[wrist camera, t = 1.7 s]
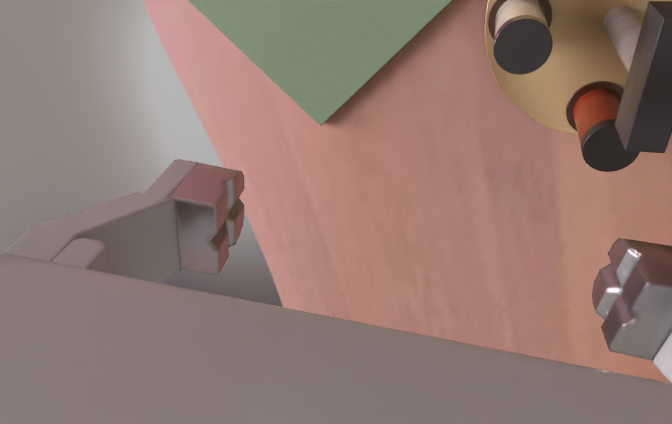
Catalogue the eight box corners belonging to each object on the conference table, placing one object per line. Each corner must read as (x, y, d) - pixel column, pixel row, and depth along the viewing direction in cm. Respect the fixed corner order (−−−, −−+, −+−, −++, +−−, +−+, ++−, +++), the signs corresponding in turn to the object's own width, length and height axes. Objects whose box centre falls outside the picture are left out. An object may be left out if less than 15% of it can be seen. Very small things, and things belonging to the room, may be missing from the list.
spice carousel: (670, -213, 28) (769, -243, 17) (825, 17, 32) (982, 103, 21) (435, 13, 37) (410, 79, 27) (578, 169, 41) (604, 280, 31)
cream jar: (524, -17, 33) (528, 6, 29) (556, 20, 34) (564, 48, 29) (484, 19, 35) (481, 46, 30) (514, 54, 36) (516, 85, 31)
